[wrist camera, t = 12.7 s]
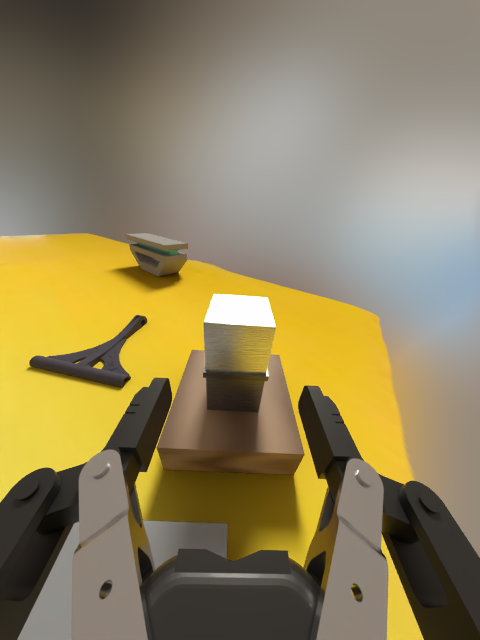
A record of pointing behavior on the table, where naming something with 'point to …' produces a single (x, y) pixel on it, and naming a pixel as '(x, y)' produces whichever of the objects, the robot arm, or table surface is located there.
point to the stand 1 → (56, 595)
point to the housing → (237, 351)
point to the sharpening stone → (158, 253)
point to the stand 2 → (231, 428)
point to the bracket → (94, 359)
